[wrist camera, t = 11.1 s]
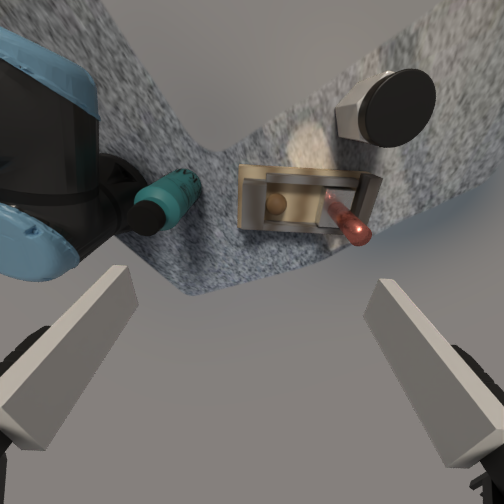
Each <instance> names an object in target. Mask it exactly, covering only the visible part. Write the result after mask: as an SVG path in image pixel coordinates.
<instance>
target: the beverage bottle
mask: <svg viewBox="0 0 504 504" xmlns="http://www.w3.org/2000/svg"><path fill="white" fill-rule="evenodd" d="M171 172H172V171H171ZM169 173H170V172H169ZM169 173H168V175H167V174H166V176H165V175H164V176H163V177H162V178H161V177H160V178H161V179H159V180H158V181H156V182H154V183H153V184H151V185H149V186H147V187H145V188H143V189H141V190H140V191H139V192H138V193H137V194H136V196H135V199H134V205H133V207H132V208H131V209H130V210H129V211H128V213H127V222H128V224H129V226H130V228H131V229H132V230H133V231H135V232H136V233H138V234H140V235H143V236H151V235H154V234H156V233H157V232H158V231H165V230H169V229H171V228H173V227H174V226H176V224H177V223H178V222H179V220H180V219H181V218H182V217H183V215H184V214H185V213H186V212H188V209H189V208H191V206H192V204H193V203H194V204H195V201H197V200H198V199H197V198H198V197H199V195H201V194H200V193H202V192H201V189H202V188H201V185H202V184H201V182H200V180H199V177H198V176H197V175H196V174H195V173H193V172H192V171H190V170H189V169H186V168H185V169H182V168H180V169H178V170H177V169H176V170H175V171H173V172H172V173H170V174H169ZM196 199H197V200H196ZM186 214H187V213H186ZM184 216H185V215H184Z"/></svg>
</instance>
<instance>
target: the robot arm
mask: <svg viewBox="0 0 504 504" xmlns="http://www.w3.org/2000/svg"><path fill="white" fill-rule="evenodd" d="M99 121H101V118H100V116H99V114H98V100H97V88H96V84H95V82H94V80H93V78H92V77H91V76H90V74H89V73H88V72H87V71H86V70H85V69H83V68H82V67H81V66H79V65H77V64H75V63H74V62H72V61H70V60H68V59H66V58H64V57H62V56H60V55H58V54H56V53H54V52H52V51H50V50H48V49H46V48H44V47H42V46H40V45H38V44H36V43H34V42H32V41H30V40H28V39H26V38H23V37H21V36H19V35H17V34H15V33H13V32H11V31H9V30H7V29H5V28H3V27H0V273H1V274H3V275H6V276H8V277H12V278H15V279H19V280H23V281H31V282H43V281H49V280H52V279H55V278H57V277H59V276H61V275H63V274H64V273H65V272H67V271H68V270H70V269H72V268H75V267H76V266H78V264H79V263H80V262H81V261H82V260H83V259H84V258H86V257H87V256H88V255H89V254H91V253H92V252H93V251H94V250H95V249H97V248H98V247H99V246H100V245H102V244H103V243H104V242H105V241H107V240H108V239H109V238H110V237H112V236H113V235H116V234H121V233H125V232H129V231H132V229H131V228H130V226H129V224H128V222H127V213H128V211H129V210H130V209H131V208H132V207H133V205H134V199H135V196H136V194H137V193H138V192H139V191H140V190H141V189H143V188H145V187H147V186H148V184H147V182H146V181H145V179H144V178H143V176H142V175H141V174H140V173H139V171H138V170H137V169H136V168H135V167H133V166H132V165H131V164H130V163H128V162H127V161H125V160H123V159H121V158H119V157H117V156H114V155H110V154H104V153H99ZM137 307H138V301H137V297H136V294H135V291H134V287H133V283H132V279H131V276H130V272H129V268H128V266H124V265H112V266H111V268H109V269H108V270H107V271H106V272H105V273H104V274H103V275H102V276H101V277H100V278H99V279H98V280H97V281H96V282H95V283H94V284H93V285H92V286H91V287H90V288H89V289H88V290H87V291H86V292H85V293H84V294H83V295H82V296H81V297H80V298H79V299H78V300H77V301H76V302H75V303H74V304H73V305H72V306H71V307H70V308H69V309H68V310H67V311H66V312H65V313H64V314H63V315H62V316H61V317H60V318H59V319H58V320H57V321H56V322H55V323H54V324H53V325H52V326H44V327H42V328H40V329H39V330H37V331H36V332H34V333H33V334H31V335H29V336H28V337H27V338H26V339H25V340H24V341H23V342H22V343H21V344H19V345H18V346H17V347H16V348H15V351H12V352H11V353H10V354H9V355H8V356H7V357H6V358H5V359H4V361H3V362H0V504H3V502H4V491H5V479H6V466H7V458H6V453H5V451H6V450H7V448H8V447H9V446H10V444H11V443H12V442H13V443H14V444H15V445H16V446H17V447H19V448H20V449H21V450H38V451H45V450H46V449H47V447H48V446H49V444H50V443H51V441H52V439H53V438H54V436H55V435H56V433H57V432H58V430H59V428H60V427H61V425H62V424H63V422H64V421H65V419H66V418H67V416H68V414H69V413H70V411H71V410H72V408H73V407H74V405H75V403H76V402H77V400H78V399H79V397H80V396H81V394H82V393H83V391H84V390H85V388H86V386H87V385H88V383H89V382H90V380H91V379H92V377H93V375H94V374H95V372H96V371H97V369H98V367H99V366H100V365H101V363H102V361H103V360H104V358H105V357H106V355H107V354H108V352H109V351H110V349H111V347H112V346H113V344H114V343H115V341H116V340H117V338H118V337H119V335H120V333H121V332H122V330H123V329H124V327H125V326H126V324H127V322H128V321H129V319H130V318H131V316H132V315H133V313H134V311H135V310H136V308H137ZM363 317H364V319H365V321H366V323H367V325H368V326H369V328H370V330H371V332H372V334H373V336H374V337H375V339H376V341H377V343H378V345H379V346H380V348H381V350H382V352H383V354H384V355H385V357H386V359H387V361H388V363H389V365H390V366H391V368H392V370H393V372H394V374H395V376H396V377H397V379H398V381H399V383H400V385H401V387H402V388H403V390H404V392H405V394H406V396H407V397H408V399H409V401H410V403H411V405H412V407H413V408H414V410H415V412H416V414H417V416H418V417H419V419H420V421H421V423H422V425H423V427H424V428H425V430H426V432H427V434H428V436H429V437H430V439H431V441H432V443H433V445H434V447H435V448H436V450H437V452H438V454H439V456H440V458H441V459H442V461H443V463H444V465H445V467H447V468H470V467H472V466H473V465H475V464H476V463H478V462H479V461H480V462H481V464H482V465H483V467H484V468H485V470H486V472H485V473H483V474H482V475H480V476H479V477H477V478H475V479H474V480H472V481H471V483H470V486H469V487H470V488H471V489H473V490H475V489H476V488H478V487H480V486H482V485H483V492H482V493H481V494H480V495H481V496H482V497H483V504H504V392H503V390H502V389H501V388H500V387H499V386H498V385H497V384H495V383H494V381H493V380H492V378H491V377H490V376H489V375H488V374H487V373H484V370H483V369H482V368H481V366H480V365H479V364H478V363H477V362H476V361H475V360H474V359H473V358H472V357H471V356H470V355H469V354H467V353H466V352H465V351H463V350H462V349H461V348H459V347H458V346H457V345H450V344H449V343H448V342H447V341H446V340H445V338H444V337H443V336H442V335H441V334H440V333H439V331H438V330H437V329H436V328H435V327H434V326H433V325H432V323H431V322H430V321H429V320H428V319H427V318H426V317H425V315H424V314H423V313H422V312H421V311H420V310H419V308H418V307H417V306H416V305H415V304H414V303H413V302H412V301H411V299H410V298H409V297H408V296H407V295H406V294H405V292H404V291H403V290H402V289H401V288H400V287H399V286H398V284H397V283H396V282H395V281H394V280H393V279H379V280H378V282H377V284H376V287H375V289H374V291H373V294H372V296H371V298H370V301H369V303H368V305H367V308H366V310H365V313H364V315H363Z"/></svg>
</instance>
